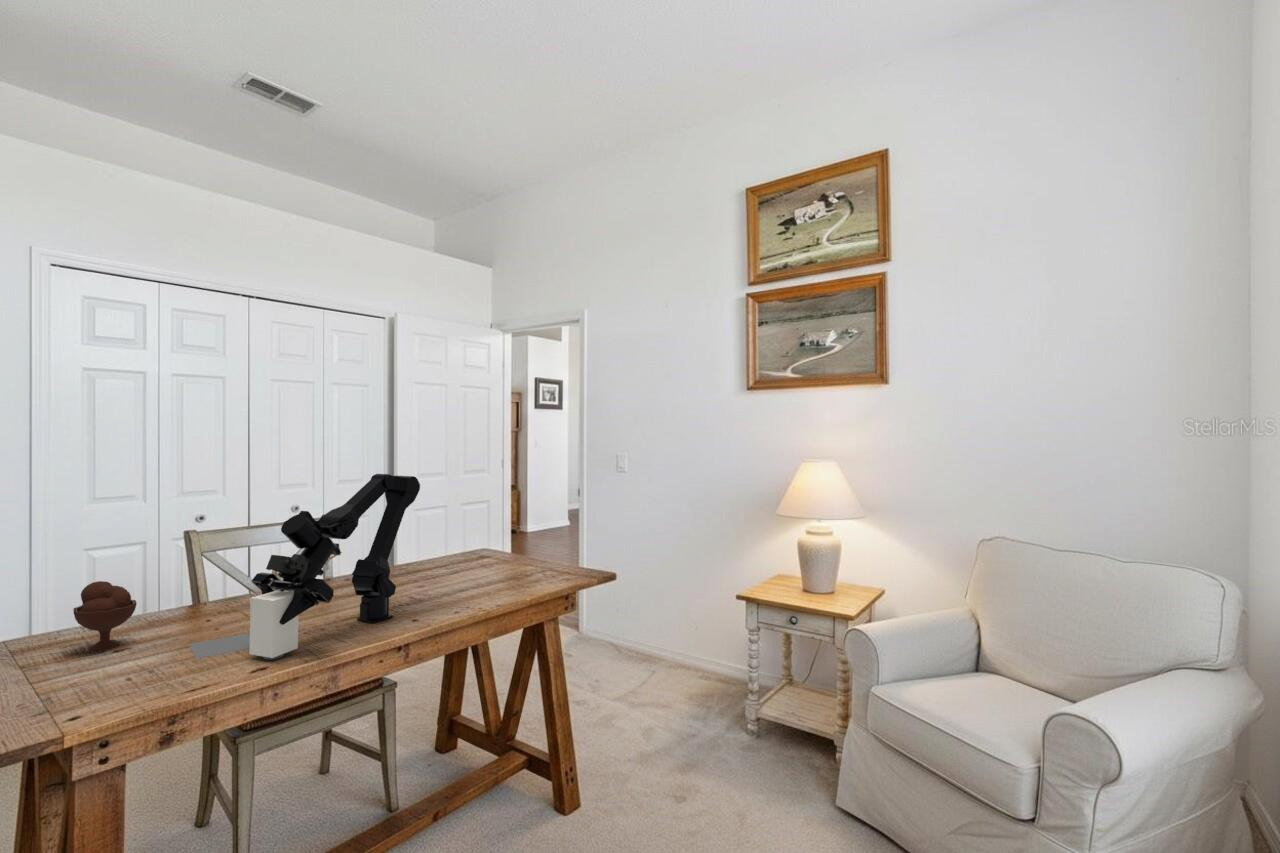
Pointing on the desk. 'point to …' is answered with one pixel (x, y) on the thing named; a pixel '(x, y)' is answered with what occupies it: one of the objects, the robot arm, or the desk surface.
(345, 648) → the desk surface
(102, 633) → the ice cream bowl
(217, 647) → the mat
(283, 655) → the light blue cylinder
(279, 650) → the rectangular block
